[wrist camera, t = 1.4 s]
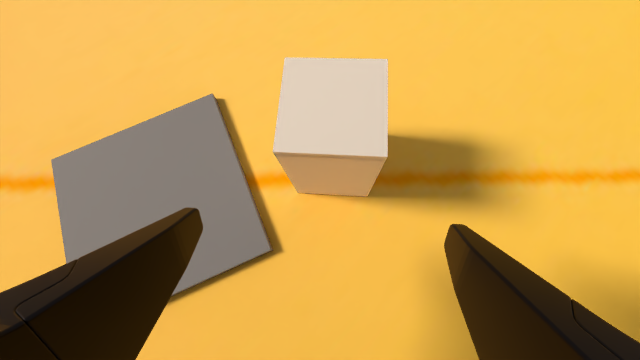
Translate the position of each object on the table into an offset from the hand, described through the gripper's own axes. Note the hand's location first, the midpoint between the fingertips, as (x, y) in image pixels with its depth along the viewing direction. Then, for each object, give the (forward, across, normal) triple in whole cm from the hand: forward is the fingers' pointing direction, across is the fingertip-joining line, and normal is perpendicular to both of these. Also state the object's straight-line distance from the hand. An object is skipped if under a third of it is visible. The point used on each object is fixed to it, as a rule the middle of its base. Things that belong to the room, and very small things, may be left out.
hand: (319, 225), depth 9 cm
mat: (+11, +16, +7) cm, 20 cm away
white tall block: (+14, 0, +4) cm, 15 cm away
